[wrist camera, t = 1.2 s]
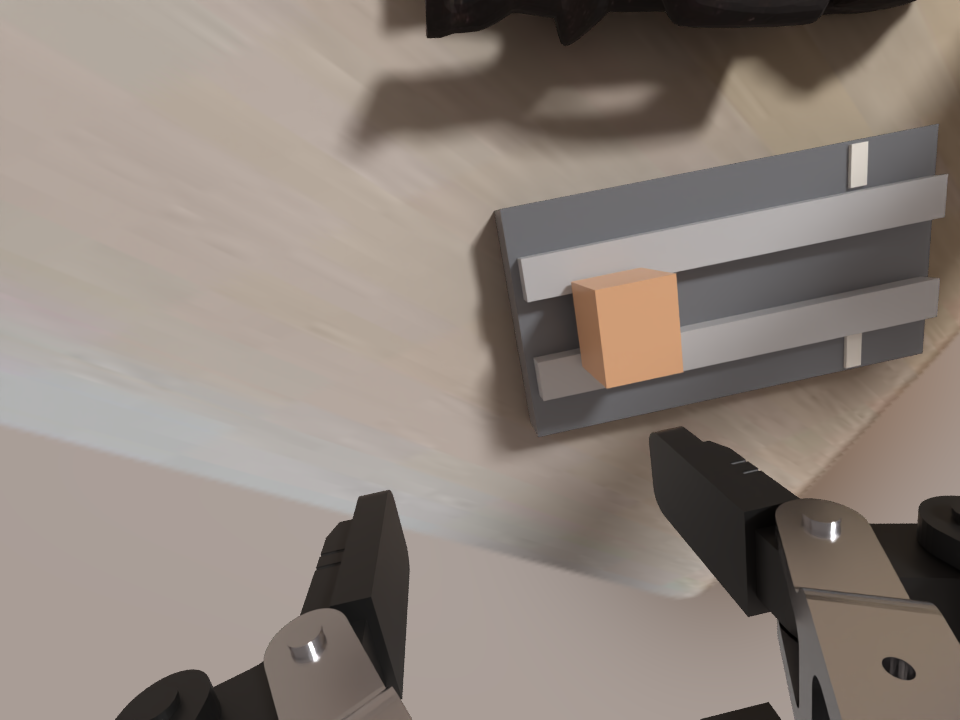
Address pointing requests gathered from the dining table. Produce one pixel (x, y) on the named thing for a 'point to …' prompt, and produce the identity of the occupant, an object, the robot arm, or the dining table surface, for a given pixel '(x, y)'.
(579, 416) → the twin slider track
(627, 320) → the block
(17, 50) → the dining table surface
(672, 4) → the figurine
